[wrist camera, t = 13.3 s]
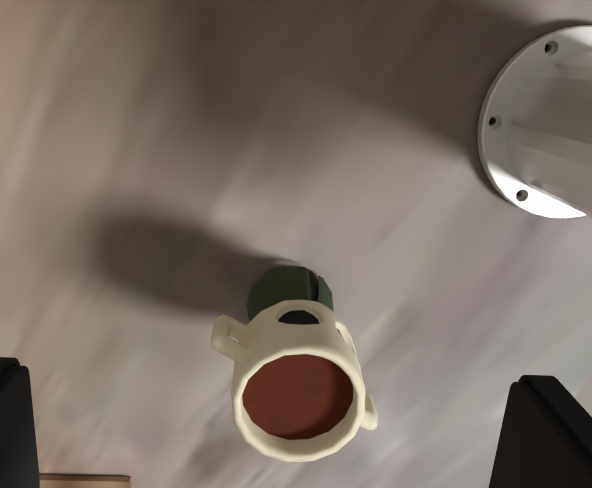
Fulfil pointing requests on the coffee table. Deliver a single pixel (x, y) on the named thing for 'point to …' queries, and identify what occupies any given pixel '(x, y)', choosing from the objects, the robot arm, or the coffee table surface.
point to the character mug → (294, 370)
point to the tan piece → (84, 481)
